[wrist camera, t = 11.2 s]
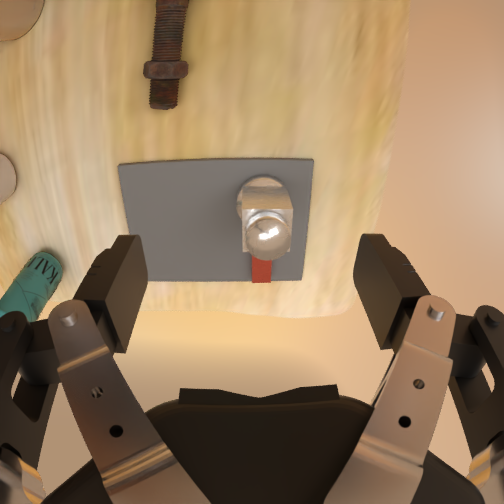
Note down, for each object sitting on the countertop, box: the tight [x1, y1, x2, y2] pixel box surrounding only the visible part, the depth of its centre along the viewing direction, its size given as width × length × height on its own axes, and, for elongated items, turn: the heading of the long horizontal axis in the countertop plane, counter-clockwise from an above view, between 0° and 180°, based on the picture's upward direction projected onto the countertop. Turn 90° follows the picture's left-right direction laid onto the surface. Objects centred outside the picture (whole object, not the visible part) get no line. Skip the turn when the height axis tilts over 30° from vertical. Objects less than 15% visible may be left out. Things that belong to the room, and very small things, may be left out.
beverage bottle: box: [0, 252, 63, 322], centre depth 37 cm, size 6×7×20 cm
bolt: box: [143, 0, 189, 110], centre depth 28 cm, size 6×5×15 cm
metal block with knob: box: [242, 186, 293, 260], centre depth 34 cm, size 5×5×8 cm
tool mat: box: [118, 158, 314, 281], centre depth 42 cm, size 24×18×1 cm
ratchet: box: [237, 174, 285, 283], centre depth 40 cm, size 6×15×5 cm, turn 0°
